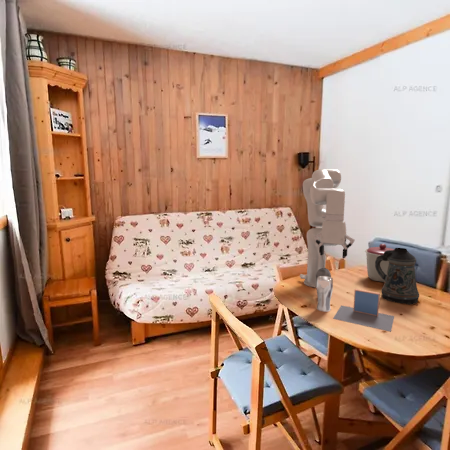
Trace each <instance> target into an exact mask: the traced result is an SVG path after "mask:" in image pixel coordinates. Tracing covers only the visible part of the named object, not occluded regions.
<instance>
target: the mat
mask: <svg viewBox="0 0 450 450" xmlns="http://www.w3.org/2000/svg"><path fill="white" fill-rule="evenodd" d="M353 309H354V307H351V306H347V305H340V307H339V309H337V311H336V313H335V314H334V316H333V317H332V319H333V320H337V321H342V322H346V323H350V324H351V323H352V324H355V325H360V326H364V327H368V328H373V329H377V330H382V331H386V332H390V333H391V332H392V329H393V323H394V320H395V315H391V314H385V313H381V312H379V314H378V316H375V315H370V314H365V313H360V312H355V311H353Z"/></svg>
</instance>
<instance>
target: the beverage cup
mask: <svg viewBox="0 0 450 450" xmlns="http://www.w3.org/2000/svg"><path fill="white" fill-rule="evenodd" d="M324 265H325V266H326V259H325V260H324V262H323V268H320V269H319V270H318V271H317V273H316V280H317V277H319V276H328V277H331V278H332V274H331V271H330V270H329V269H328V268H327V267H325V268H324Z"/></svg>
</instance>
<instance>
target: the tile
mask: <svg viewBox="0 0 450 450" xmlns="http://www.w3.org/2000/svg"><path fill="white" fill-rule="evenodd" d="M353 297H354V298H353V308H354V309H353V311H355V312H360V313H365V314H370V315H375V316H378V314H379V313H380V312H379V311H380V310H379V309H380V297H381V292H376V291H372V290H371V291H370V290H365V289H359V288H355V289H354V295H353Z"/></svg>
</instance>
